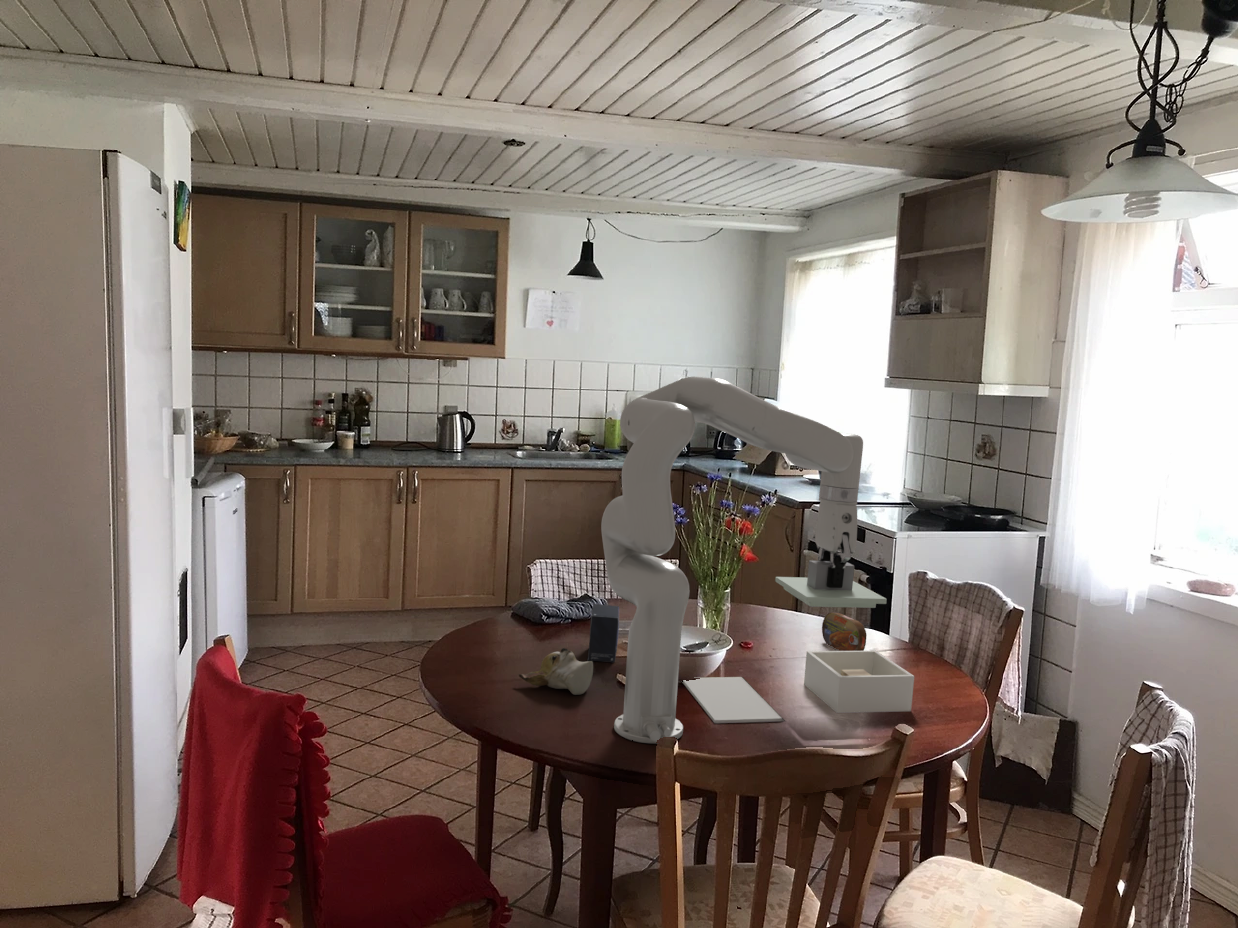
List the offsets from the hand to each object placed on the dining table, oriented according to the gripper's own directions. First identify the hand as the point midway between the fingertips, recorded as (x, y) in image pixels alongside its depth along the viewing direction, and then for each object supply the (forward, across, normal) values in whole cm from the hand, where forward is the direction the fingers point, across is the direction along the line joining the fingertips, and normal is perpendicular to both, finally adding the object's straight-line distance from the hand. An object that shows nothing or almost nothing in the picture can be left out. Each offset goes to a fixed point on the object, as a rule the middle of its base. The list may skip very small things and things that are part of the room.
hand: (829, 583), depth 188 cm
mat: (+25, +1, +14) cm, 28 cm away
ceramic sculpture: (+26, +10, +52) cm, 59 cm away
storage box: (+24, 0, -8) cm, 26 cm away
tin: (+24, +33, -21) cm, 46 cm away
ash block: (+24, 0, -8) cm, 25 cm away
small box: (+25, +30, +39) cm, 55 cm away
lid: (+3, 0, 0) cm, 3 cm away
